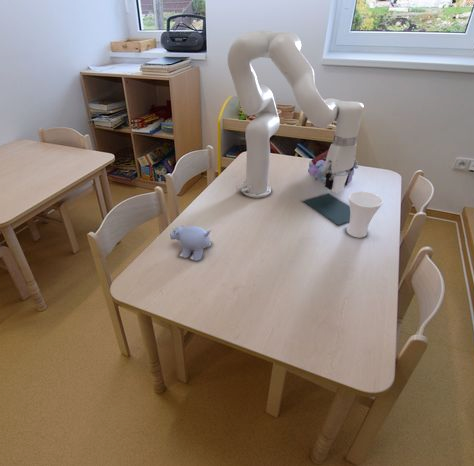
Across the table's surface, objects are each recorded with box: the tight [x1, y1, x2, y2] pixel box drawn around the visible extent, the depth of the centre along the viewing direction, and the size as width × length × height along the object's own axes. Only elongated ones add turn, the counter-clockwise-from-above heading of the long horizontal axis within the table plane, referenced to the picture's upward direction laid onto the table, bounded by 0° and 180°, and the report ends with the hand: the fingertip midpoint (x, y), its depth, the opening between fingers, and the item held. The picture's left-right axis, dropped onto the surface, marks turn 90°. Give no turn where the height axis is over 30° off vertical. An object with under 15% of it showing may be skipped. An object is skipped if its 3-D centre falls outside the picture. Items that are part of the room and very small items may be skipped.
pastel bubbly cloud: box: [307, 149, 359, 185], centre depth 146 cm, size 20×22×18 cm
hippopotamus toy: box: [169, 224, 213, 262], centre depth 110 cm, size 11×15×10 cm
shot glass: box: [327, 170, 348, 193], centre depth 123 cm, size 7×7×7 cm
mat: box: [303, 193, 350, 226], centre depth 129 cm, size 13×20×1 cm, turn 24°
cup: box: [346, 191, 384, 238], centre depth 112 cm, size 10×10×14 cm
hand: (335, 185), depth 125 cm, fingers closed on shot glass, 6 cm apart
